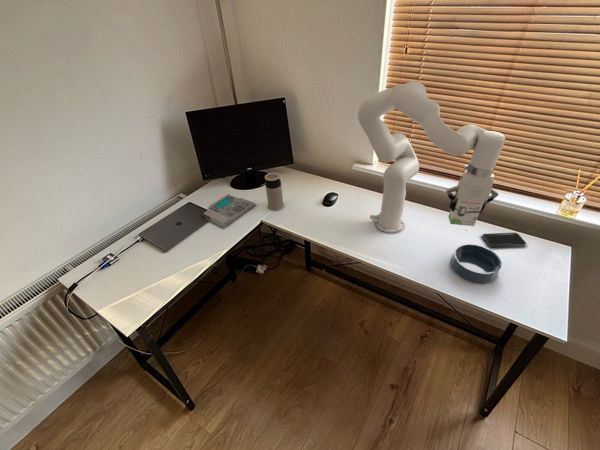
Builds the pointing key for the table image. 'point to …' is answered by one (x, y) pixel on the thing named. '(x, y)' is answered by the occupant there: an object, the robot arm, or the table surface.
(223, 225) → the office telephone
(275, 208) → the travel mug
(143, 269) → the table surface
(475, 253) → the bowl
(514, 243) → the phone
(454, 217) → the ink box
